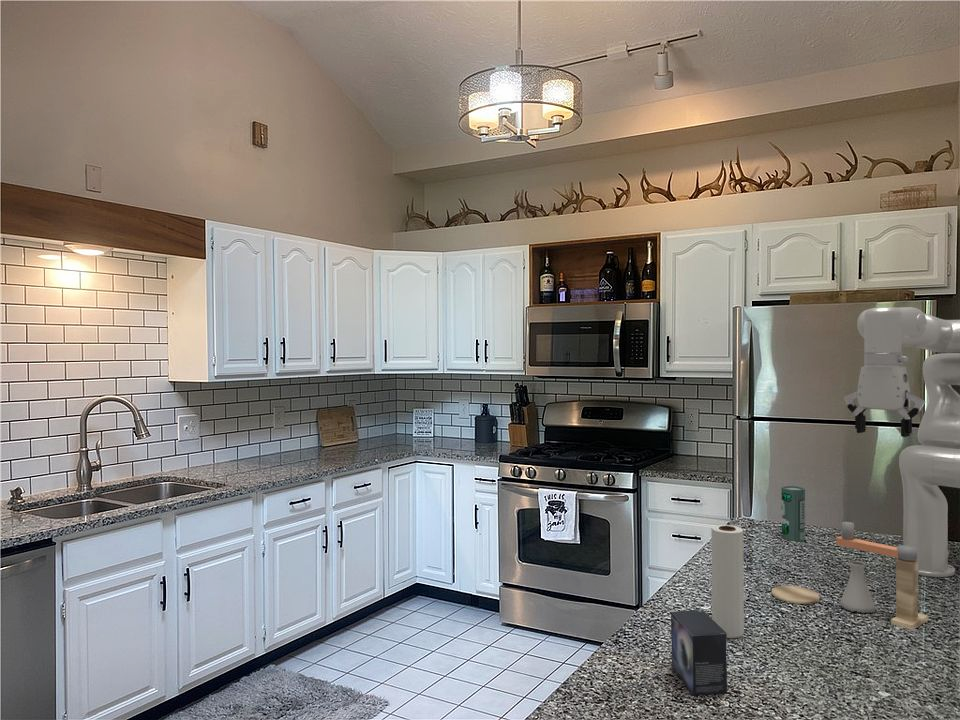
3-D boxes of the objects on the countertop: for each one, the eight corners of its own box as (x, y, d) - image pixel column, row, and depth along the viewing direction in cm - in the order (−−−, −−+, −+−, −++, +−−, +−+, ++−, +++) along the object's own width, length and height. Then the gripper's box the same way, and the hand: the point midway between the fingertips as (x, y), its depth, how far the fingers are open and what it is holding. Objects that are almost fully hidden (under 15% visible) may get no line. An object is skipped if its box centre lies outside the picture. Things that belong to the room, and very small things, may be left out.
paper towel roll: (728, 641, 137) (728, 533, 137) (705, 630, 143) (704, 526, 142) (754, 634, 141) (754, 528, 140) (731, 623, 146) (730, 521, 146)
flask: (881, 615, 149) (881, 568, 149) (844, 613, 151) (844, 567, 151) (869, 602, 157) (869, 558, 156) (834, 600, 158) (834, 556, 158)
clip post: (907, 614, 149) (907, 554, 149) (928, 620, 146) (928, 558, 146) (890, 624, 145) (890, 561, 144) (912, 630, 141) (912, 566, 141)
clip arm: (842, 542, 158) (842, 519, 158) (920, 558, 145) (920, 534, 145) (834, 544, 156) (834, 522, 155) (912, 562, 143) (912, 537, 143)
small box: (668, 667, 127) (668, 610, 127) (703, 665, 128) (703, 608, 127) (691, 696, 117) (690, 634, 116) (729, 694, 117) (728, 632, 117)
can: (784, 534, 212) (784, 485, 212) (806, 537, 209) (806, 487, 208) (780, 539, 207) (779, 488, 207) (802, 542, 204) (802, 491, 203)
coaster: (786, 585, 168) (786, 582, 168) (827, 597, 160) (827, 594, 160) (763, 595, 162) (763, 592, 162) (805, 608, 154) (805, 604, 154)
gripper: (931, 360, 158) (930, 436, 158) (851, 360, 171) (851, 429, 172) (917, 361, 153) (917, 439, 154) (837, 360, 167) (837, 432, 167)
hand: (882, 434), depth 163 cm, fingers open, 9 cm apart
